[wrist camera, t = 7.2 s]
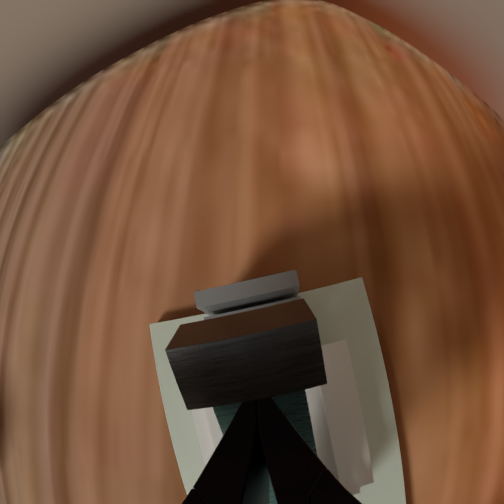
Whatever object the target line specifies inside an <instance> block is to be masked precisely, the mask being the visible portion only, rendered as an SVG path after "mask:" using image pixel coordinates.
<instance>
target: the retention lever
mask: <svg viewBox="0 0 504 504" xmlns="http://www.w3.org/2000/svg"><path fill="white" fill-rule="evenodd" d="M165 352H166V354H167V357H168V360H169V363H170V366H171V369H172V371H173V374H174V377H175V379H176V382H177V385H178V387H179V390H180V393H181V395H182V398H183V400H184V403H185V405H186V408H187V410H193V409H202V408H209V407H213V410H214V413H215V415H216V418H217V421H218V423H219V426H220V429H221V431H222V434H223V435H224V433H225V431H226V430H227V428H228V426H229V424H230V422H231V421H232V419H233V417H234V415H235V413H236V412H237V410H238V408H239V406H240V404H241V403H242V402H247V401H253V400H258V399H263V398H268V397H272V398H273V400H274V401H275V402H276V404H277V405H278V407H279V408H280V409H281V410H282V412H283V413H284V414H285V416H286V417H287V418H288V420H289V421H290V422H291V424H292V425H293V426H294V427H295V429H296V430H297V431H298V433H299V434H300V435H301V436H302V438H303V439H304V440H305V442H306V443H307V444H308V445H309V447H310V448H311V449H312V450H313V452H314V453H315V454H316V455H317V451H316V445H315V440H314V434H313V429H312V423H311V418H310V412H309V407H308V402H307V396H306V391H305V389H309V388H313V387H317V386H321V385H325V384H327V379H326V372H325V366H324V360H323V353H322V347H321V341H320V336H319V330H318V324H317V319H316V317H315V316H314V314H313V312H312V311H311V309H310V308H309V306H308V304H307V303H306V301H305V300H304V298H303V299H298V300H294V301H290V302H286V303H281V304H277V305H273V306H268V307H264V308H259V309H255V310H250V311H246V312H241V313H236V314H231V315H227V316H222V317H217V318H212V319H207V320H202V321H197V322H191V323H186V324H181V325H180V326H179V328H178V329H177V331H176V333H175V334H174V336H173V337H172V339H171V341H170V342H169V344H168V346H167V347H166V349H165ZM269 491H270V504H277V500H276V497H275V493H274V490H273V486H272V482H271V479H270V475H269Z"/></svg>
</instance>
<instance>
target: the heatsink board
mask: <svg viewBox="0 0 504 504" xmlns="http://www.w3.org/2000/svg"><path fill="white" fill-rule="evenodd" d="M299 288H300V283H299V279H298V275H297V271H296V269H295V270H291V271H286V272H282V273H278V274H273V275H269V276H265V277H260V278H256V279H251V280H247V281H242V282H238V283H233V284H229V285H224V286H220V287H215V288H210V289H206V290H201V291H196V292H194V295H195V301H196V307H197V309H199V310H201V311H203V312H204V313H206V314H201V315H196V316H191V317H185V318H180V319H175V320H170V321H164V322H159V323H153V324H149V325H150V332H151V339H152V345H153V352H154V358H155V363H156V369H157V374H158V380H159V385H160V390H161V395H162V400H163V405H164V409H165V414H166V418H167V423H168V427H169V431H170V435H171V439H172V443H173V447H174V451H175V455H176V459H177V462H178V466H179V470H180V473H181V477H182V480H183V483H184V487H185V490H186V493H187V495H188V494H189V492H190V490H191V489H194V488H193V486H194V484H195V483H196V481H197V479H198V478H199V476H200V474H201V473H202V471H203V469H204V468H205V466H206V464H207V463H208V461H209V459H210V458H211V456H212V454H213V452H214V451H215V449H216V447H217V445H218V444H219V442H220V440H221V438H222V437H223V434H222V431H221V429H220V426H219V423H218V421H217V418H216V415H215V413H214V410H213V407H209V408H202V409H193V410H187V408H186V405H185V403H184V400H183V398H182V395H181V393H180V390H179V387H178V385H177V382H176V379H175V377H174V374H173V371H172V369H171V366H170V363H169V360H168V357H167V354H166V352H165V349H166V347H167V346H168V344H169V342H170V341H171V339H172V337H173V336H174V334H175V333H176V331H177V329H178V328H179V326H180V325H181V324H186V323H191V322H197V321H202V320H207V319H212V318H217V317H222V316H227V315H231V314H236V313H241V312H246V311H250V310H255V309H259V308H264V307H268V306H273V305H277V304H281V303H286V302H290V301H294V300H298V299H303V298H304V300H305V301H306V303H307V304H308V306H309V308H310V309H311V311H312V312H313V314H314V316H315V317H316V319H317V324H318V330H319V336H320V341H321V347H322V353H323V360H324V366H325V372H326V379H327V384H325V385H321V386H317V387H313V388H309V389H305V391H306V396H307V402H308V407H309V412H310V418H311V423H312V429H313V434H314V440H315V445H316V451H317V456H318V458H319V459H320V460H321V461H322V463H323V464H324V465H325V466H326V467H327V469H329V471H330V472H331V473H332V474H333V475H334V477H335V478H336V479H337V480H338V481H339V482H340V483H341V484H342V485H343V486H344V487H345V488H346V490H348V491H349V492H350V493H351V494H352V495H353V496H354V497H355V498H356V499H358V500H359V501H360V502H361V503H362V504H406V498H405V488H404V478H403V469H402V461H401V454H400V447H399V440H398V433H397V427H396V421H395V415H394V410H393V404H392V399H391V394H390V388H389V383H388V379H387V374H386V369H385V365H384V360H383V356H382V351H381V347H380V343H379V339H378V335H377V331H376V327H375V323H374V319H373V315H372V311H371V307H370V304H369V300H368V296H367V293H366V289H365V286H364V282H363V279H362V277H360V278H357V279H353V280H349V281H345V282H341V283H337V284H333V285H329V286H325V287H321V288H317V289H313V290H309V291H305V292H301V293H298V292H299Z"/></svg>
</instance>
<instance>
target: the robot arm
mask: <svg viewBox="0 0 504 504" xmlns="http://www.w3.org/2000/svg"><path fill="white" fill-rule="evenodd" d="M269 475H270V479H271V482H272V486H273V490H274V493H275V497H276V500H277V504H362V503H361V502H360V501H359V500H358V499H356V498H355V497H354V496H353V495H352V494H351V493H350V492H349V491H348V490H346V488H345V487H344V486H343V485H342V484H341V483H340V482H339V481H338V480H337V479H336V478H335V477H334V475H333V474H332V473H331V472H330V471H329V469H327V467H326V466H325V465H324V464H323V463H322V461H321V460H320V459H319V458H318V456H317V455H316V454H315V453H314V452H313V450H312V449H311V448H310V447H309V445H308V444H307V443H306V442H305V440H304V439H303V438H302V436H301V435H300V434H299V433H298V431H297V430H296V429H295V427H294V426H293V425H292V424H291V422H290V421H289V420H288V418H287V417H286V416H285V414H284V413H283V412H282V410H281V409H280V408H279V407H278V405H277V404H276V402H275V401H274V400H273V398H272V397H268V398H263V399H258V400H253V401H247V402H242V403H241V404H240V406H239V408H238V410H237V412H236V413H235V415H234V417H233V419H232V421H231V422H230V424H229V426H228V428H227V430H226V431H225V433H224V435H223V437H222V438H221V440H220V442H219V444H218V445H217V447H216V449H215V451H214V452H213V454H212V456H211V458H210V459H209V461H208V463H207V464H206V466H205V468H204V469H203V471H202V473H201V474H200V476H199V478H198V479H197V481H196V483H195V484H194V486H193V488H194V489H191V490H190V492H189V494H188V495H187V497H186V498H185V500H184V501H183V503H182V504H270V491H269Z"/></svg>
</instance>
